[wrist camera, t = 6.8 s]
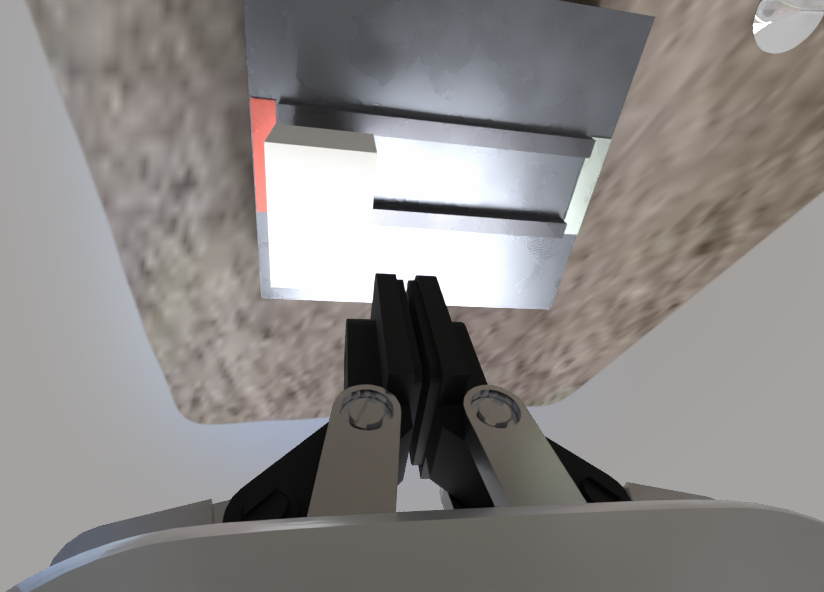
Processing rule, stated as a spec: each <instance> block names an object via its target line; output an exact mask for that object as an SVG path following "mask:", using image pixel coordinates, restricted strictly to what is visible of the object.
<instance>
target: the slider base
mask: <svg viewBox="0 0 824 592" xmlns="http://www.w3.org/2000/svg"><path fill="white" fill-rule="evenodd" d="M243 10H244V26H245V42H246V58H247V74H248V91H249V107H250V123H251V139H252V156H253V172H254V188H255V204H256V220H257V237H258V253H259V269H260V285H261V298H271V299H296V300H322V301H347V302H372V300H373V289H374V280H375V274H376V273H385V274H396V277H397V279H403V281H404V286H405V290H406V289H407V282H408V280H414V279H415V276H416V275H426V276H436V277H437V280H438V283H439V286H440V288H441V291H442V294H443V297H444V300H445V303H446V305H449V306H474V307H500V308H525V309H550V308H551V306H552V303H553V300H554V297H555V295H556V292H557V289H558V286H559V283H560V281H561V278H562V275H563V272H564V269H565V267H566V264H567V261H568V258H569V255H570V253H571V250H572V247H573V244H574V242H575V239H576V236H577V234H578V231H579V229H580V226H581V223H582V220H583V217H584V215H585V212H586V209H587V206H588V204H589V201H590V198H591V195H592V192H593V190H594V187H595V184H596V181H597V178H598V176H599V173H600V170H601V167H602V165H603V162H604V159H605V156H606V153H607V151H608V148H609V145H610V142H611V138H612V136H613V133H614V130H615V127H616V124H617V122H618V119H619V116H620V113H621V110H622V108H623V105H624V102H625V99H626V96H627V94H628V91H629V88H630V85H631V83H632V80H633V77H634V74H635V71H636V69H637V66H638V63H639V60H640V57H641V55H642V52H643V49H644V46H645V44H646V41H647V38H648V35H649V32H650V30H651V27H652V24H653V21H654V18H655V17H653V16H647V15H641V14H636V13H630V12H624V11H618V10H612V9H607V8H601V7H595V6H589V5H583V4H578V3H572V2H566V1H560V0H243ZM275 124H284V125H293V126H303V127H312V128H322V129H331V130H340V131H350V132H359V133H369V134H373V135H374V139H375V144H376V149H377V165H376V176H375V188H374V199H373V211H372V222H371V234H370V245H369V257H368V268H367V280H366V291H350V290H327V289H304V288H281V287H271V279H270V257H269V236H268V215H267V194H266V172H265V151H264V141H265V140H266V138H267V136H268V135H269V133H270V132H271V130H272V128H273V127H274V125H275Z"/></svg>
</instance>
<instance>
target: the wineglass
mask: <svg viewBox="0 0 824 592" xmlns="http://www.w3.org/2000/svg"><path fill="white" fill-rule="evenodd" d="M823 15H824V0H761V2H760V4H759V6H758V9H757V12H756V15H755V19H754V32H753V34H754V37H755V40H756V44H757V45H758V46H759V47H760V48H761V49H762V50H763V51H765V52H768V53H771V54H774V53H783V52H785V51H788V50H790V49H792V48H794V47H796V46H797V45H798V44H800V43H801V42H802V41H804V40H805V39H806V38H807V37H808V36H809V35H810V34H811V33H812V31H813V30H814V29H815V28H816V27H817V25H818V24H819V22H820V20H821V19H822V17H823Z"/></svg>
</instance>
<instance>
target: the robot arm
mask: <svg viewBox="0 0 824 592" xmlns="http://www.w3.org/2000/svg"><path fill="white" fill-rule="evenodd" d="M408 453H410V460H411V464H412V465H418V466H419V471H420V478H421V479H428V478H430V479H431V480H432V481H434V482H435V483H436V484H437V485H439V486H440V497H441V501H442V504H443V507H444V510H432V511H412V512H396V499H397V486H398V485H399V483H400V482H401V481H402V480H403V477H404V472H405V467H406V463H407V457H408ZM6 592H824V522H823V521H820V520H818V519H815V518H813V517H810V516H807V515H803V514H800V513H797V512H794V511H790V510H787V509H782V508H777V507H773V506H767V505H763V504H757V503H750V502H739V501H729V500H715V499H712V498H709V497H706V496H700V495H695V494H689V493H684V492H678V491H673V490H667V489H662V488H655V487H650V486H644V485H640V484H634V483H629V482H627V483H626V484H625V486H624V487H622V486H621V485H620V484H619V483H618V482H617V481H616V480H614V479H613V478H612V477H610V476H609V475H608V474H606V473H604V472H603V471H601V470H599V469H598V468H596V467H594V466H593V465H591V464H589V463H588V462H586V461H585V460H583V459H581V458H579V457H578V456H576V455H574V454H573V453H572V452H570V451H568V450H567V449H565V448H563V447H562V446H560V445H558V444H557V443H555V442H553V441H552V440H550V439H548V438H547V437H545V436H544V434H543V433H542V431H541V430H540V428H539V427H538V425H537V424H536V422H535V420H534V419H533V417H532V416H531V414H530V413H529V411H528V409H527V408H526V406H525V405H524V403H523V402H522V401H521V400H520V399H519V397H517V396H516V395H515V394H513V393H512V392H511V391H508V390H506V389H504V388H502V387H498V386H494V385H487V382H486V379H485V377H484V374H483V371H482V369H481V366H480V363H479V361H478V358H477V355H476V353H475V350H474V347H473V345H472V342H471V339H470V337H469V334H468V331H467V329H466V326H465V324H464V323H462V322H452V321H451V318H450V315H449V312H448V309H447V306H446V303H445V300H444V297H443V294H442V291H441V288H440V286H439V283H438V280H437V277H436V276H426V275H416V276H415V279H414V280H408V282H407V289H406V290H405V286H404V281H403V279H397V277H396V274H385V273H376V274H375V280H374V289H373V300H372V310H371V319H347V321H346V335H345V354H344V391H342V392H341V393H340V394H339V395H338V396H337V397H336V399H335V401H334V403H333V406H332V410H331V415H330V419H329V422H328V423H327V424H325V425H324V426H323V427H321V428H320V429H319V430H317V431H316V432H315V433H313V434H312V435H311V436H309V437H308V438H307V439H306V440H304V441H303V442H302V443H300V444H299V445H298V446H296V447H295V448H294V449H292V450H291V451H290V452H288V453H287V454H286V455H285V456H283V457H282V458H281V459H279V460H278V461H277V462H275V463H274V464H273V465H271V466H270V467H269V468H268V469H266V470H265V471H264V472H262V473H261V474H260V475H258V476H257V477H256V478H254V479H253V480H252V481H250V482H249V483H248V484H246V485H245V486H244V487H243V488H241V489H240V490H239V491H238V492H237V493H236V494H235V495H234V496H233V497H232V499H231V500H228V501H223V502H219V503H216V504H213V502H212V499H209V500H205V501H201V502H197V503H193V504H188V505H184V506H180V507H176V508H172V509H168V510H164V511H160V512H155V513H151V514H147V515H143V516H139V517H135V518H131V519H127V520H123V521H118V522H114V523H110V524H106V525H102V526H98V527H96V528H93V529H91V530H88V531H86V532H83V533H81V534H80V535H78V536H77V537H76V538H74V539H73V540H71V541H70V542H68V543H67V544H66V545H65V546H64V547H63V548H62V549H61V551H60V552H59V553H58V554H57V555H56V556H55V557H54V559H53V561H52V563H51V565H50V567H49V568H47V569H45V570H43V571H40V572H39V573H37V574H35V575H33V576H31V577H29V578H27V579H25V580H24V581H22V582H20V583H18V584H17V585H15V586H14V587H12V588H11V589H9V590H7V591H6Z"/></svg>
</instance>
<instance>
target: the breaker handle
mask: <svg viewBox="0 0 824 592" xmlns="http://www.w3.org/2000/svg"><path fill="white" fill-rule="evenodd" d="M264 151H265V172H266V194H267V215H268V236H269V257H270V279H271V287H281V288H304V289H327V290H350V291H366V280H367V268H368V257H369V245H370V234H371V222H372V211H373V199H374V188H375V176H376V165H377V149H376V144H375V139H374V135H373V134H369V133H359V132H350V131H340V130H331V129H322V128H312V127H303V126H293V125H284V124H275V125H274V127H273V128H272V130H271V132H270V133H269V135H268V136H267V138H266V140H265V141H264Z"/></svg>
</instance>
